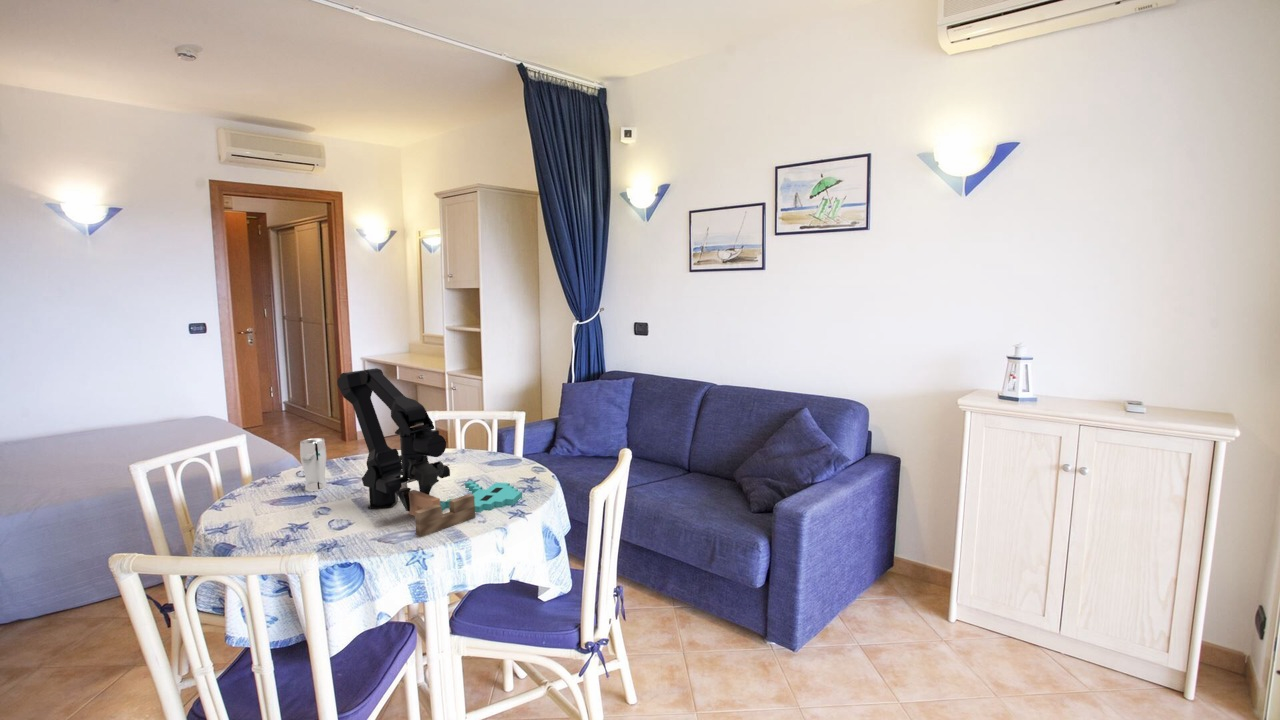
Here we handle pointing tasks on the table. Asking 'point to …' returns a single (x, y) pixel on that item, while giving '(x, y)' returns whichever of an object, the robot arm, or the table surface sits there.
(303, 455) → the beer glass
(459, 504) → the notched wooden block
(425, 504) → the terracotta u-shaped block
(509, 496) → the alien figure
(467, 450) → the table surface
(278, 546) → the table surface
